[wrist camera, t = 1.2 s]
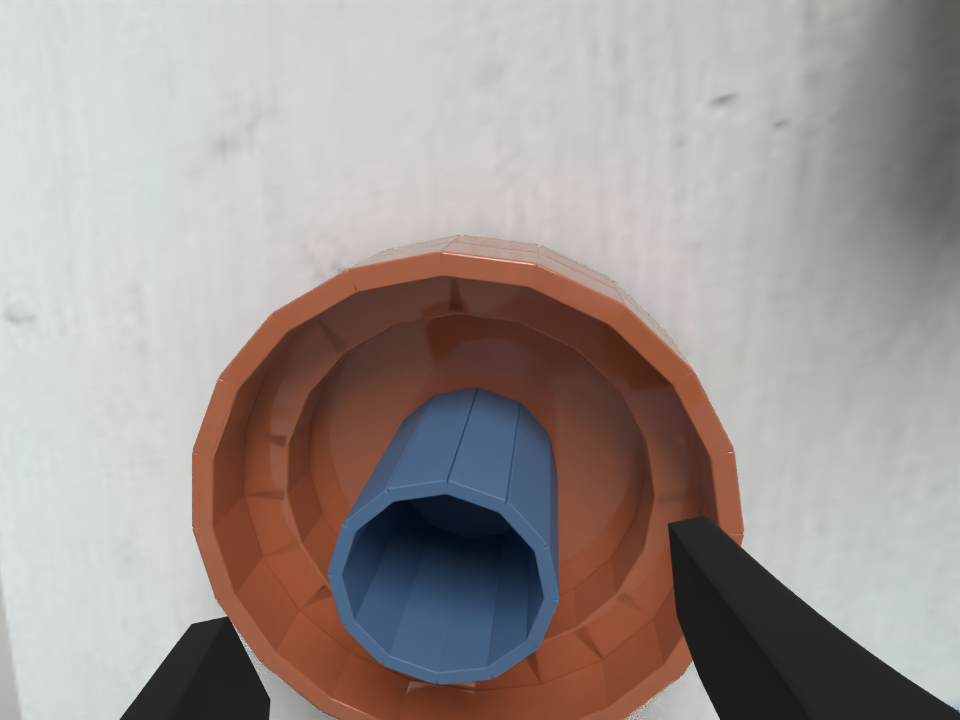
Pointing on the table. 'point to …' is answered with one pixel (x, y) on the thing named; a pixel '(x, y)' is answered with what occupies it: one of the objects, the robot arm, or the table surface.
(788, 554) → the table surface
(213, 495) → the bowl
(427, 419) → the blue cup
